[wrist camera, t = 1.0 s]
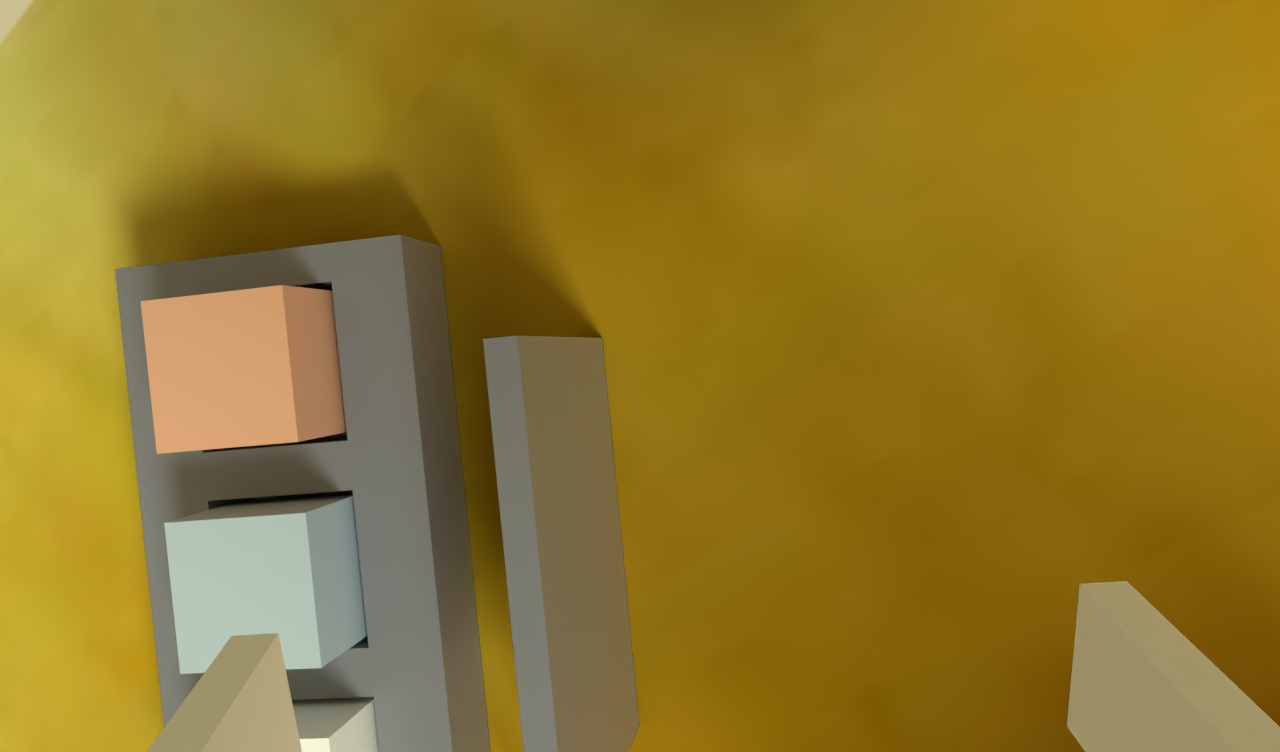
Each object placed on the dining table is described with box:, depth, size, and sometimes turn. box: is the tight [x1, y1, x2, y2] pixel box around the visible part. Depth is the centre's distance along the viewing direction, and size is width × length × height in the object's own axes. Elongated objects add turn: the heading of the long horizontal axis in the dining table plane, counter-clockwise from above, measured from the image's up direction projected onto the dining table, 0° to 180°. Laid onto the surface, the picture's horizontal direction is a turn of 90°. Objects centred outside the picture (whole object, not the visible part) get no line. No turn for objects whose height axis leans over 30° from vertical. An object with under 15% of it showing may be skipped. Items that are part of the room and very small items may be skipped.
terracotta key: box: [141, 285, 347, 454], centre depth 34 cm, size 6×6×4 cm
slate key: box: [164, 495, 367, 674], centre depth 34 cm, size 6×6×4 cm
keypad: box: [115, 234, 639, 752], centre depth 33 cm, size 25×18×12 cm
